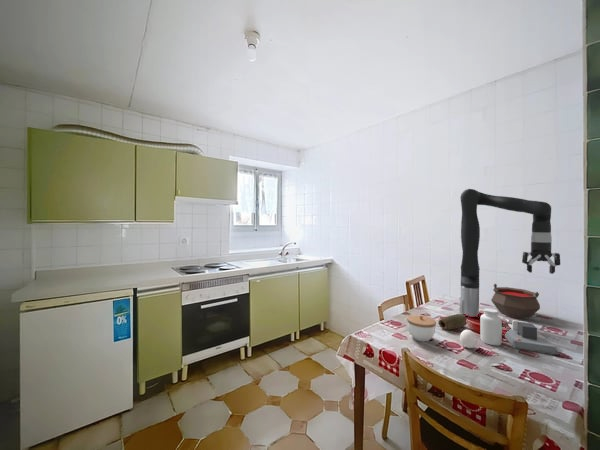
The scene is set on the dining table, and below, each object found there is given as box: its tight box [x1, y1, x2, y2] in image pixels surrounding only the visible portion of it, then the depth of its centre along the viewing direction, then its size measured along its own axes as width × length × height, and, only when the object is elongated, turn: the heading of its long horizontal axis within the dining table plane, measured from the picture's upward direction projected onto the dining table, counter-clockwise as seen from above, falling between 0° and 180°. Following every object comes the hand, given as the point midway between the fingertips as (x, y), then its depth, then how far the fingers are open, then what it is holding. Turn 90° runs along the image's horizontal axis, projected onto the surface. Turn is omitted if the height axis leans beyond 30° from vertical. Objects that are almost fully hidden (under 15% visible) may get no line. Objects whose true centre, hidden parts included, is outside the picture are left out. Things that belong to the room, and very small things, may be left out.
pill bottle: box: [479, 308, 503, 346], centre depth 118 cm, size 8×8×15 cm
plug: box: [518, 322, 538, 339], centre depth 117 cm, size 5×5×8 cm
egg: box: [459, 329, 478, 349], centre depth 113 cm, size 6×6×8 cm
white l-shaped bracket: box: [507, 319, 529, 330], centre depth 125 cm, size 6×6×4 cm
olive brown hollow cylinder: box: [437, 313, 468, 330], centre depth 133 cm, size 15×7×7 cm, turn 114°
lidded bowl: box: [406, 314, 437, 343], centre depth 122 cm, size 13×13×11 cm
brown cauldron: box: [490, 283, 541, 319], centre depth 153 cm, size 24×24×16 cm
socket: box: [502, 326, 557, 355], centre depth 117 cm, size 14×16×4 cm
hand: (540, 272), depth 128 cm, fingers open, 8 cm apart
